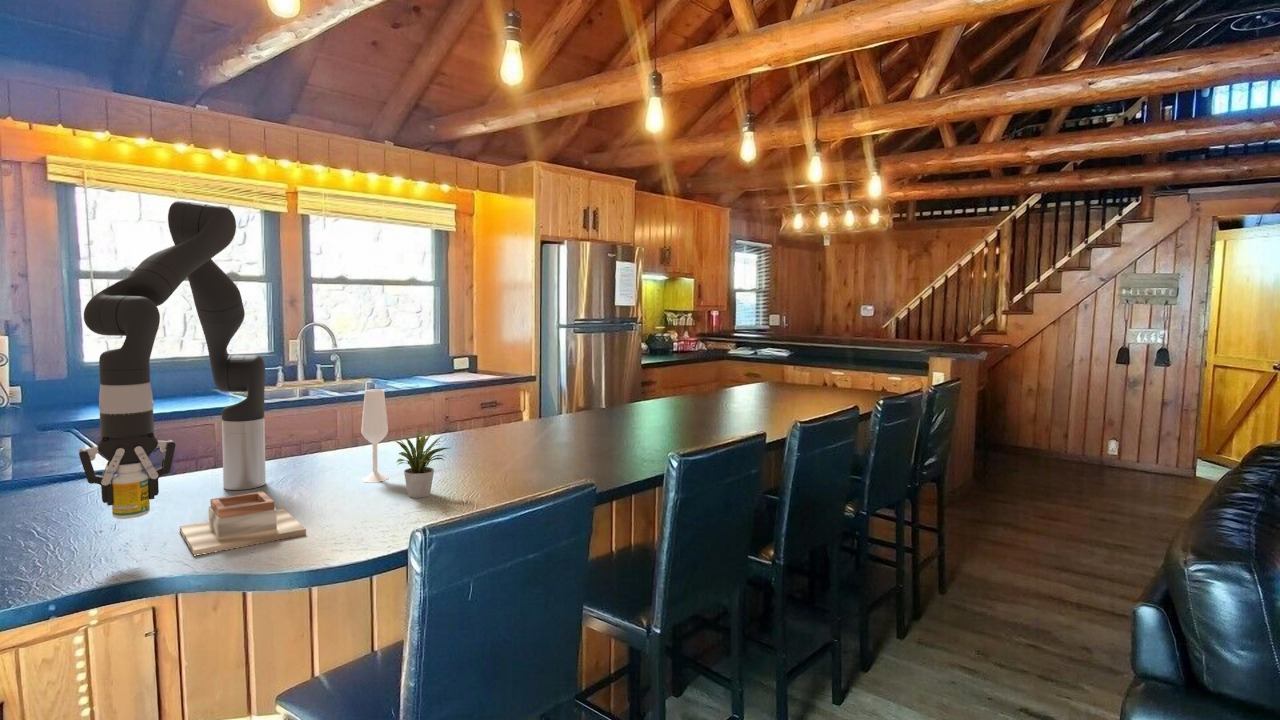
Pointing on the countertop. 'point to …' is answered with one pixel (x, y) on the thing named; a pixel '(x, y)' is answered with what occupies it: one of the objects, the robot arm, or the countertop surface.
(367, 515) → the countertop surface
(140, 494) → the supplement bottle
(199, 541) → the tower base
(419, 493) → the house plant
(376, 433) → the champagne flute
